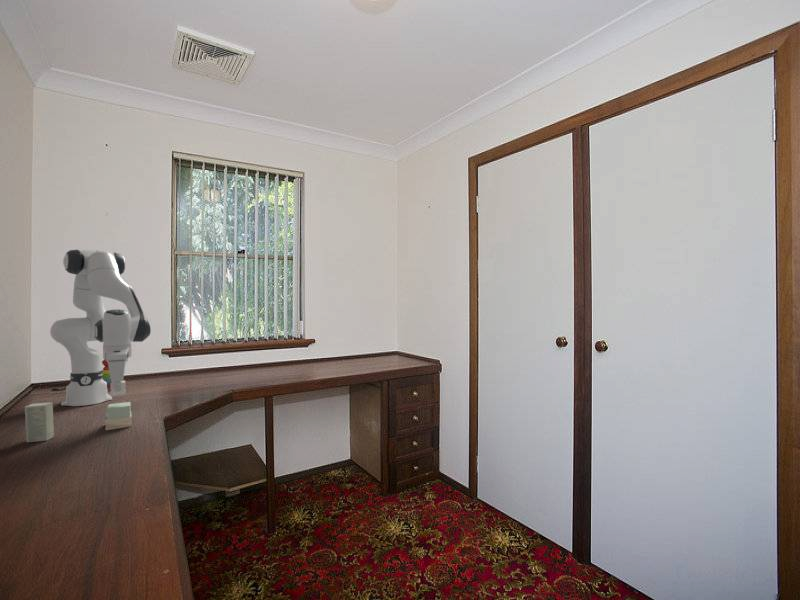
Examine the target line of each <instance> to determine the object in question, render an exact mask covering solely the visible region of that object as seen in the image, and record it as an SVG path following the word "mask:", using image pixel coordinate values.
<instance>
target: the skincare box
mask: <svg viewBox="0 0 800 600" xmlns="http://www.w3.org/2000/svg"><path fill="white" fill-rule="evenodd" d="M24 415H25V416H24V417H25V418H24V419H25V434H26V435H25V436H26V438H25V439H26V443H33V442H44V441H49V440H50V439H52V438H53V437H55V428H54V406H53V402H52V401H51V402H39V403H38V402H35V403H30V404H29V405H26V406H24Z"/></svg>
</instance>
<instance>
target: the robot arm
mask: <svg viewBox="0 0 800 600" xmlns="http://www.w3.org/2000/svg"><path fill="white" fill-rule="evenodd" d="M63 266H64V270H65V271H66V272H67V273H68V274H71V275H75V278H74V282H73V283H74V284H73V293H72V294H73V296H72V303H73V306H75V307H76V308H77V309H79V310H81V311H83V312H85V314H86V316H85V317H70V318H63V319H59V320H56V321H54V322H53V323H52V325H51V327H50V329H49V330H50V331H49V332H50V333H49V334H50V336H51V338H52V339H53V341H55V342H56V343H58V344H60V345H61V346H63V347H64V348H65V349H66V350H67V352H68V354H69V356H70V362H71V363H70V366H71V372H70V376H69V379H70V383H69V384H67V386H66V387H65V400H63V401H62V402H61V403H60V405H61V406H63V407H64V406H65V407H66V406H69V407H80V406H82V407H84V406H91V405H96V404H100V403H103V402H108V401H112V400H113V396H111V394H109V393H108V392H109V391H108V390H107V382H105V381H104V380H103V379H102V378H103V364H102V361H103V360H104V359H106V361H107V363H108V366H109V373H110V379H111V381H112V382H114V385H115V391H116V392H118V391H121V381H124V376H125V370H126V369H125V367H126V364H127V363H126V362H128V359H129V358H131V357H132V342H135V343H137V342H139V343H142V342H144V341H145V340H146V339H148V338H149V337H150V336H151V330H152V329H151V325H150V321H149V320H148V318H147V316H146V315H145V314H144V311H143V308H142V306H141V304H140V302H139V299H138V297H137V295H136V292H135V290H134V289H133V287H132V286H131V285H130V284H129V283H128V284H127V282H125V281H124V279H122V277H121V275H122V274H123V273H124V272H125V269H126V267H127V263H126V258H125V257H124V256H123V254H121V253H117V252H111V251H104V250H89V249H87V250H86V249H85V250H84V249H83V250H82V249H81V250H80V249H70V250H69V251H67V252H66V253H65V255H64V257H63ZM104 298H108V299H112V300H115V301H118V302H121V303H123V304H124V305H125V306H126V309H127V310H125V309H109V310H106V307H105V301H104V300H105V299H104ZM95 341H98V342H100V343H103V344H102V354H101V352H100V351H98V350H96V349H93V348H90V347H89V346H88V342H95Z"/></svg>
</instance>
